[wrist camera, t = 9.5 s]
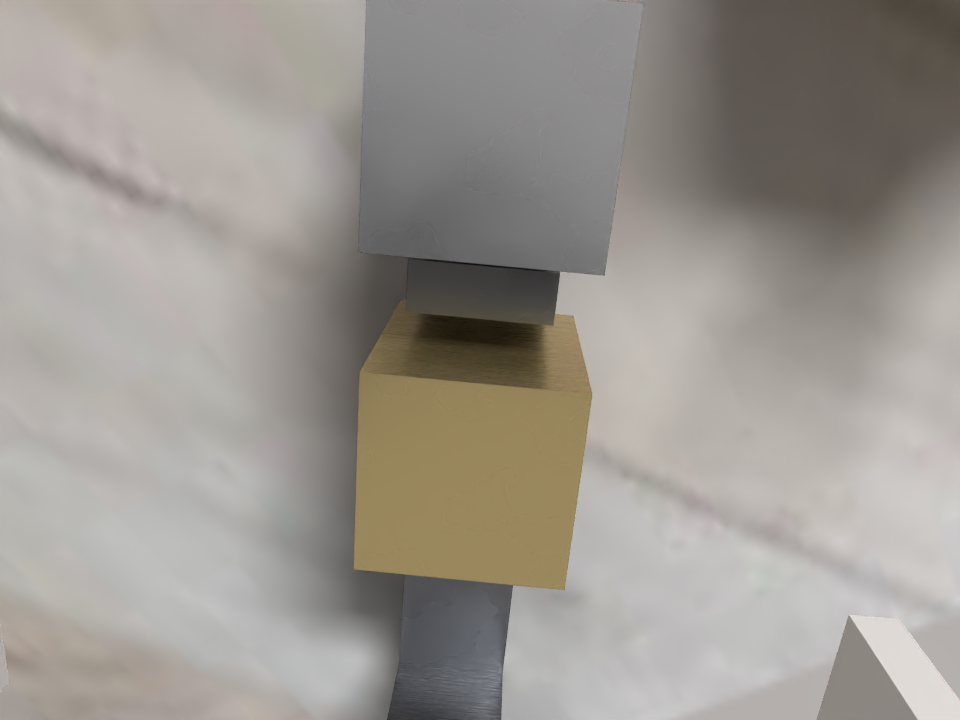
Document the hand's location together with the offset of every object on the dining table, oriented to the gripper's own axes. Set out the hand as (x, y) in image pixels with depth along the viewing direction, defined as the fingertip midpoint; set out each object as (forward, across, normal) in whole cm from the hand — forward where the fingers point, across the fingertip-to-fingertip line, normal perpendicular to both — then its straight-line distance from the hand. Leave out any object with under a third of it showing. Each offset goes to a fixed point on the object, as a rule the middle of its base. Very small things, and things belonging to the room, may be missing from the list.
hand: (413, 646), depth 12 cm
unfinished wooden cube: (+12, +1, 0) cm, 12 cm away
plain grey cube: (+12, +1, +7) cm, 14 cm away
